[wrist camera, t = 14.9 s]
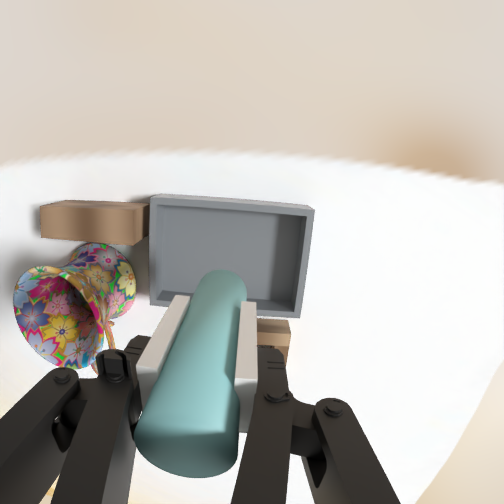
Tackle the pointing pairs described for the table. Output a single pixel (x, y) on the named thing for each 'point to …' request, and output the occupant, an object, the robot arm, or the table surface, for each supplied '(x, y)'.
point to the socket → (274, 334)
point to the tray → (230, 248)
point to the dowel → (198, 387)
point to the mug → (74, 305)
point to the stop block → (96, 221)
